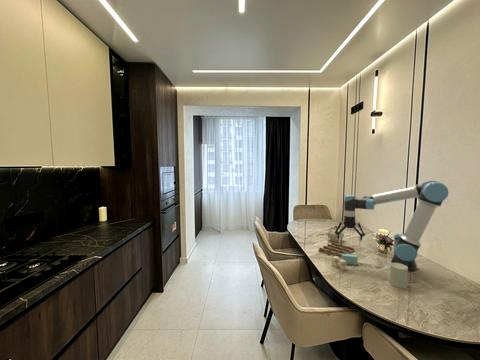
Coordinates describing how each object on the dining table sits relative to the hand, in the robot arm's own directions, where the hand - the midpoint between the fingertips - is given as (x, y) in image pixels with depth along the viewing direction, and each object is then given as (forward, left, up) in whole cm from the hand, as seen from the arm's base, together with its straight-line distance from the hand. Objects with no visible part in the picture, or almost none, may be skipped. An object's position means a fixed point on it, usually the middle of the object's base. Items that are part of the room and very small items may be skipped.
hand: (349, 243), depth 168 cm
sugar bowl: (+32, -40, -15) cm, 53 cm away
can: (-34, +8, -15) cm, 38 cm away
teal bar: (0, 0, -15) cm, 15 cm away
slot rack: (+18, -15, -15) cm, 27 cm away
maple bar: (+2, +12, -15) cm, 19 cm away
